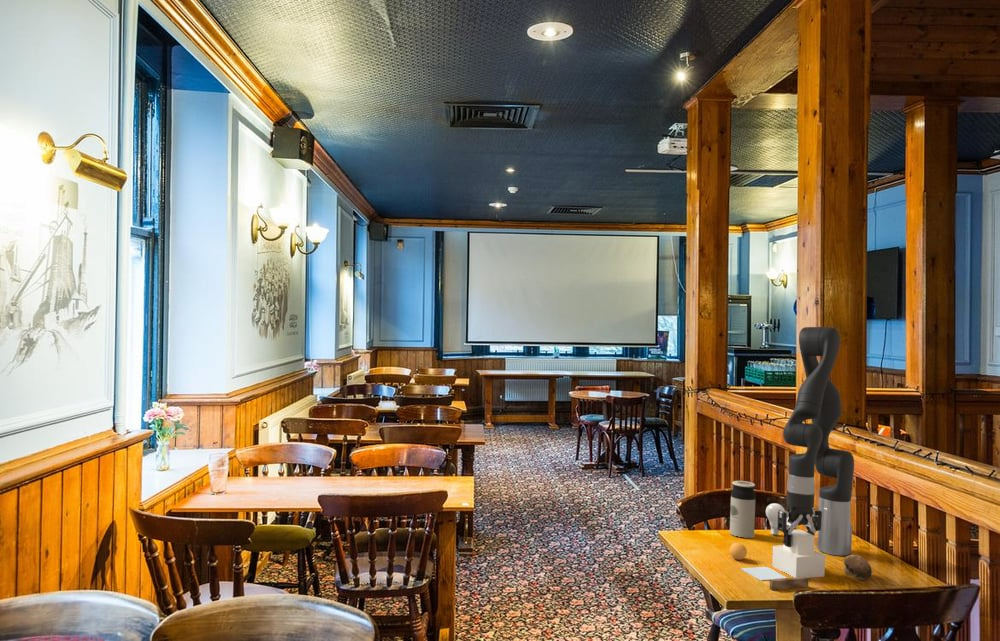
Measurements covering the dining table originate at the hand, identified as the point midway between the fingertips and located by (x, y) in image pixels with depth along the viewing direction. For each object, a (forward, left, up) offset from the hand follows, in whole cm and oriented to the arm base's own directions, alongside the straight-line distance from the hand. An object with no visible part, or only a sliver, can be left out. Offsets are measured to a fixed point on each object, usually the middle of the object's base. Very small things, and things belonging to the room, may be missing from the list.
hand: (798, 545), depth 195 cm
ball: (+12, -12, -5) cm, 18 cm away
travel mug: (-5, -33, -8) cm, 34 cm away
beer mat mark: (+12, 0, -8) cm, 14 cm away
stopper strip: (+12, +10, -8) cm, 18 cm away
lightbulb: (-17, -31, -8) cm, 36 cm away
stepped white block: (0, 0, -8) cm, 8 cm away
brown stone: (-15, +7, -8) cm, 18 cm away
